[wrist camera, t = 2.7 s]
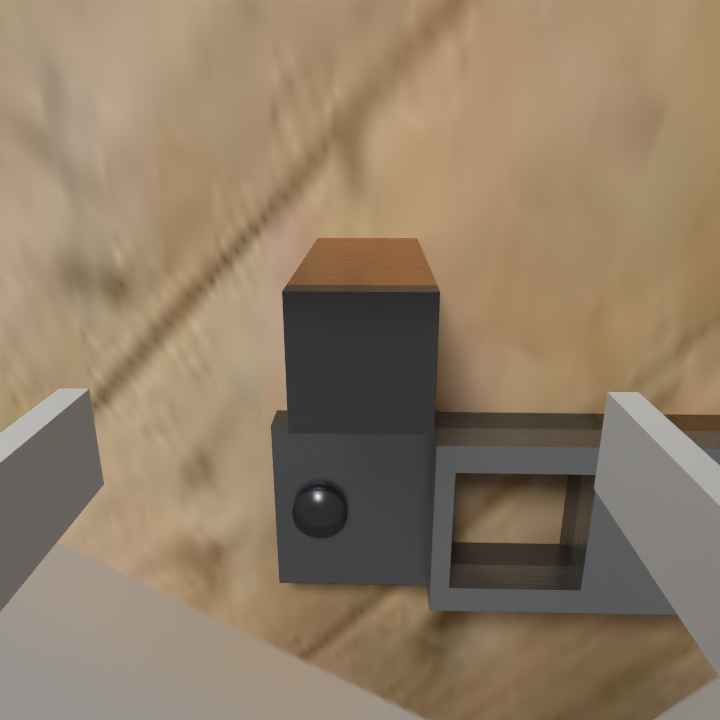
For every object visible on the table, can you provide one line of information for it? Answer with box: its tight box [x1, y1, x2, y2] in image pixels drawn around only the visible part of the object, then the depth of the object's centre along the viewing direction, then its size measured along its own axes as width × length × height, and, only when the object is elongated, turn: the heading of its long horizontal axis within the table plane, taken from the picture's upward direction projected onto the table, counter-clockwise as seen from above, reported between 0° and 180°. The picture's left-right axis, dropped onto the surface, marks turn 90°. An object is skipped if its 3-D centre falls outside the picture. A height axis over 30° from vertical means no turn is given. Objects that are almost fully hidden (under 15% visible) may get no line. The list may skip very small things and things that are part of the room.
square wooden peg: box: [282, 238, 440, 435], centre depth 26 cm, size 5×5×12 cm
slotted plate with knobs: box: [271, 411, 720, 615], centre depth 33 cm, size 10×26×5 cm, turn 90°
